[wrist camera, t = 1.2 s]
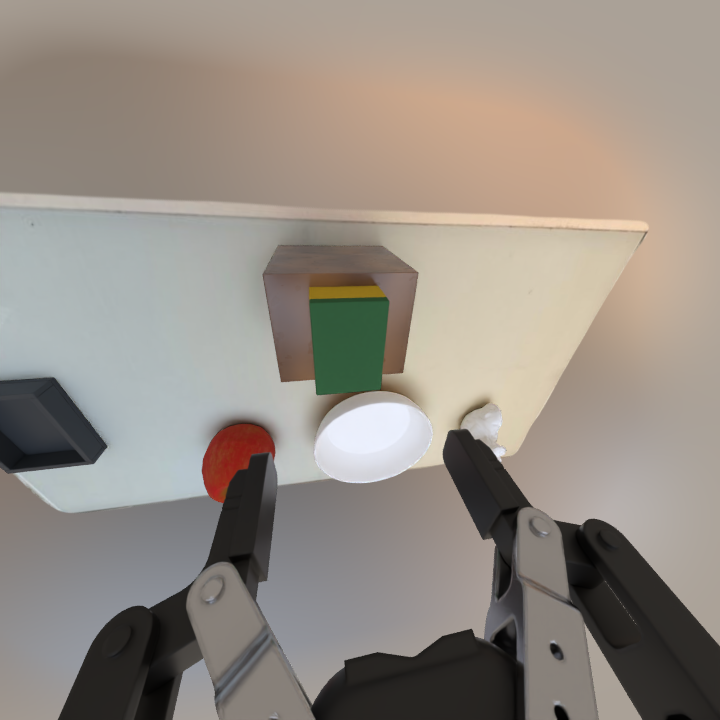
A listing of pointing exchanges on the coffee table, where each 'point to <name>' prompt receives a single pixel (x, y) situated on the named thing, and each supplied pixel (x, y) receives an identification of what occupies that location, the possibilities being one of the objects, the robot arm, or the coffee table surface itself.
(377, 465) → the bowl
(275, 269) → the wooden block
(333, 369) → the sponge
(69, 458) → the tray
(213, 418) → the coffee table surface
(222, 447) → the apple
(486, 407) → the bust
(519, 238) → the coffee table surface
